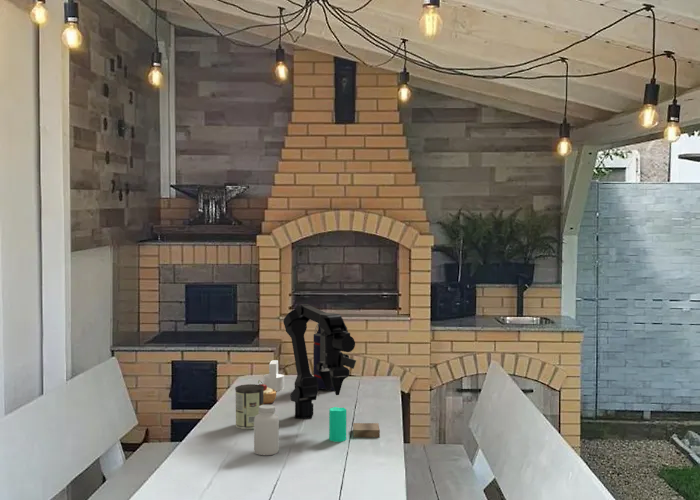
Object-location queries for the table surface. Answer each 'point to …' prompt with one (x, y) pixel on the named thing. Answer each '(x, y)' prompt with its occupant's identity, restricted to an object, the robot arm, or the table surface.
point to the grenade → (319, 356)
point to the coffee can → (248, 404)
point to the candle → (337, 424)
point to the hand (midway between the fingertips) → (333, 392)
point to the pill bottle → (266, 431)
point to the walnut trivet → (366, 430)
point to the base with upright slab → (274, 377)
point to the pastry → (268, 394)
